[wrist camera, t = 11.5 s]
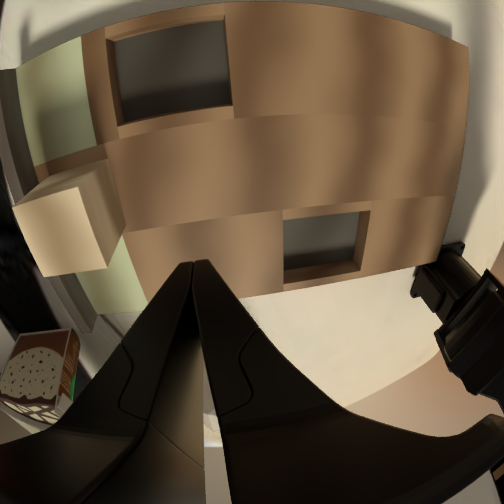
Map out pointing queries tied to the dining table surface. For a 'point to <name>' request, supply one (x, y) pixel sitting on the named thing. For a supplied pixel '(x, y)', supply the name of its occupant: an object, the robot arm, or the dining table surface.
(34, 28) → the dining table surface
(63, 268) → the birch cube
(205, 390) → the die
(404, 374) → the dining table surface
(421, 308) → the dining table surface
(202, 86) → the board
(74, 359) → the food container
